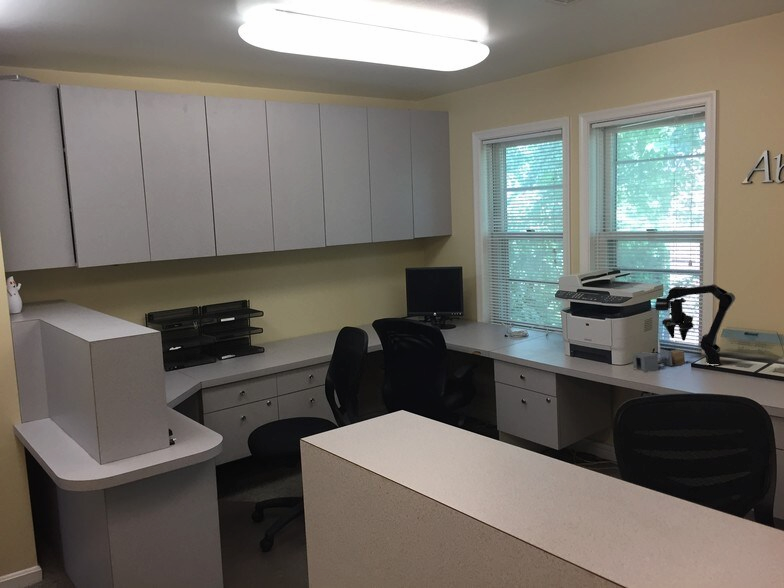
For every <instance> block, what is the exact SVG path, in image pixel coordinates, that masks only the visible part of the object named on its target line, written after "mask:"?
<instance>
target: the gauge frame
mask: <svg viewBox="0 0 784 588" xmlns="http://www.w3.org/2000/svg"><path fill="white" fill-rule="evenodd" d="M658 358H659V357H658V354H657V353H648V352H642V351H641V352H639V353H638V352H637V353H632V364H633V365H632V366H633V369H634V368H636V369H640V370H641V372H642V371H644V372H643V373H648V371H651V372H655V371H659V365H662V364H663V363H661V362H658Z"/></svg>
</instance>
